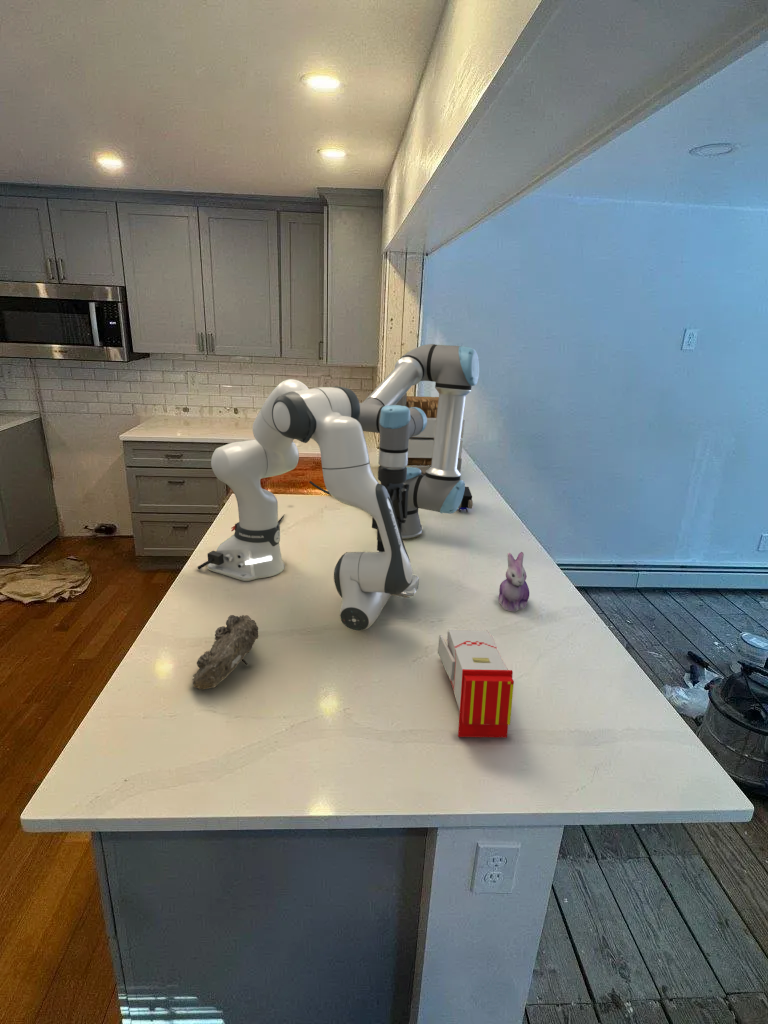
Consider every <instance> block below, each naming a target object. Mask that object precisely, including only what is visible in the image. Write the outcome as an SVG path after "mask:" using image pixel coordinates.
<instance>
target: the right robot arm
mask: <svg viewBox="0 0 768 1024" xmlns="http://www.w3.org/2000/svg"><path fill="white" fill-rule="evenodd" d="M479 378H480V359H479V355H478V352H477V351H476V349H475V348H474V347H470V346H464V345H451V344H450V345H449V344H436V343H435V344H434V343H429V344H423V345H420V346H417V347H415V348H412V349H411V350H410V351H407V352H406V353H404V354H403V355H402V356H401V357H399V359H398V360H397V361H396V363H395V364H394V368H393V370H392V371H391V372H390V373H389V374H388V375H387V376H386V377H385V378H384V379H383V380H382V381H381V382H380V384H378V385H377V387H375V388H374V390H372V392H371V393H370V394H369V395H368V396H367V397H366V398H365V399H364V400H363V401H362V402H359V404H360V415H359V419H358V422H359V423H360V424H361V426H362V430H363V432H367V433H375V434H379V444H378V445H379V446H378V465H379V466H378V468H377V481H379V483H380V484H381V485H383V486H385V488H386V489H387V491H388V493H389V496H390V499H391V502H392V505H393V508H394V511H395V515H396V518H397V522H398V525H399V529H400V532H401V536H402V539H403V541H410V540H415V539H418V538H420V537H421V536H422V535H423V525H422V524H421V518H420V515H419V509H420V510H424V511H425V510H426V511H430V512H437V513H440V514H449V515H452V514H454V513H456V512H457V511H458V510H459V506H460V504H461V501H462V498H463V495H464V491H465V487H466V483H465V481H464V480H462V479H461V475H462V473H461V474H460V473H459V471H458V470H457V463H458V455H459V446H460V439H462V438H461V430H462V422H463V419H464V412H465V405H466V397H467V395H468V394H470V393H471V392H472V387H473V386H477V384H478V382H479ZM420 382H432V383H433V382H434V383H435V384H434V388H435V391H437V392H438V397H439V399H438V409H437V418H436V427H435V436H434V445H433V454H432V463H431V465H430V466H429V468H427V469H426V470H425V474H422V470H421V468H419V467H416V466H407V464H408V443H409V438H411V437H413V436H417V435H418V434H420V433H421V432H422V431H423V430H424V429H425V427H426V425H427V417H426V414H425V413H424V411H423V410H421V409H420V408H417V407H409V408H408V407H406V406H401V405H396V404H397V403H398V401H399V400H400V399H401V398H402V397H403V396H404V394H405V393H408V392H409V390H410V389H411V388H412V387H413V386H416V385H418V384H419V383H420ZM309 484H310V485H312V486H313V487H314V488H316V489H317V490H320V491H321V492H323V493H324V494H327V495H329V496H330V497H331V496H332V495H331V494H330V493H329V492H328V491H327V489H324V488H322V487H320V486H319V485H317V484H316V483H314V482H313V481H311V480H309ZM332 497H333V496H332ZM371 517H372V516H371ZM371 520H372V521H371V528H372V529H373V530H376V541H377V543H376V552H379V551H380V552H385V550H384V546H383V543H382V539H381V536H380V532H379V529H378V525H377V523H376V521H375V519H374V518H373V517H372V518H371Z"/></svg>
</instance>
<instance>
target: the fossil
mask: <svg viewBox="0 0 768 1024" xmlns="http://www.w3.org/2000/svg"><path fill="white" fill-rule="evenodd" d="M258 639H259V627H258V625H257V622H256V621H255V619H252V618H251V617H250V616H249V615H248V614H244V615H243V614H242V615H240V616H238V615H235V614H230V615H228V617H227V620H226V621H225V626H224V625H223V626H219V627H217V628H216V629H215V631H214V642H213V644H212V645H211V648H210V649H209V650H207V651H205V652H204V653H203V654H201V655H200V656H199V657H198V659H197V661H196V666H197V668H198V670H197V671H196V672H195V673H193V675H192V676H193V678H192V683H193V688H195V689H198V690H200V691H203V690H207V689H211V688H212V689H214V688H216V687H217V686H218V685H219V684H220V683H221V682H222V681H224V680H225V679H226V678H227V677H228V676H229V675H230V674H231V673H232V672H233V671H234V670H236V668H237V667H238V664H239V663H241V662H242V663H243V664H244V665H245V666H248V665H249V664H248V662H247V661H246V659H244V658H245V656H246V655H247V654H249V653H250V652H251V650H252V649H253V646H254V645H255V643H256V641H257V640H258Z"/></svg>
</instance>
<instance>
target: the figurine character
mask: <svg viewBox="0 0 768 1024" xmlns="http://www.w3.org/2000/svg"><path fill="white" fill-rule="evenodd" d="M473 502H474V501H473V495H472V492H471V489H470V486H465V491H464V495H463V498H462V501H461V504H460V506H459V508H458V512H459V513H462V511H465V512H466V513H469V510H468V509H470V510H471V509H473V507H474V503H473Z"/></svg>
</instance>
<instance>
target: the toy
mask: <svg viewBox="0 0 768 1024" xmlns="http://www.w3.org/2000/svg"><path fill="white" fill-rule="evenodd" d="M446 640H447V643H446V641H445V639H444V636H443V635H442V634H439V637H438V646H437V656H438V657H439V659H440V661H441V663H442V666H443V668H444V670H445V672H446V674H447V677H448V679H449V681H450V684H451V687H452V690H453V693H454V697H455V701H456V705H457V708H458V711H459V714H458V715H459V716H458V730H457V731H458V732H457V737H458V738H508V731H509V726H510V725H511V717H512V707H513V697H514V696H513V695H514V684H515V680H514V679H513V673H514V671H513V670H512V669H508V667H507V665H506V662H505V661H504V659H503V658H502V655H501V653H500V651H499V649H498V647H497V643H496V639H495V637H494V635H493V634H491V632H490V631H489V629H467V628H466V629H465V628H463V629H461V628H460V629H459V628H448V630H447V639H446Z"/></svg>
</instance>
